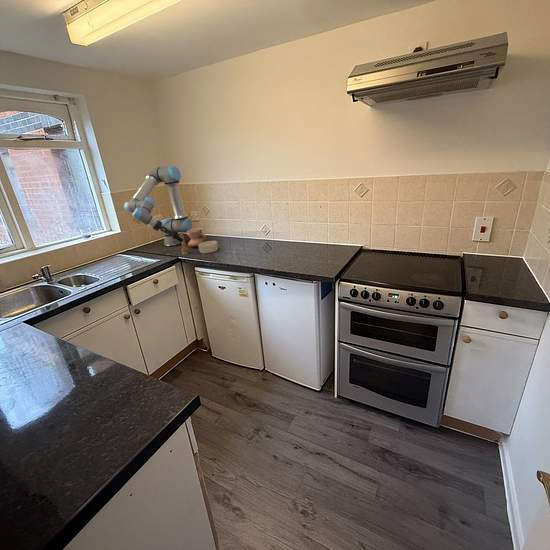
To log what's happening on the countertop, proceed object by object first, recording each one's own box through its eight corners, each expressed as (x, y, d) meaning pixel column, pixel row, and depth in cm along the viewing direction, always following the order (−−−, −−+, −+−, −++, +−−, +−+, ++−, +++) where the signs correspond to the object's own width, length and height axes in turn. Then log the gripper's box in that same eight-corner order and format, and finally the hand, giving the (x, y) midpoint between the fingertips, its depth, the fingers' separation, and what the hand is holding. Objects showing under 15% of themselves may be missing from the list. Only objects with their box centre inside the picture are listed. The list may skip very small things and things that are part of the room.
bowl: (203, 248, 240) (202, 241, 238) (221, 247, 237) (219, 240, 235) (196, 254, 226) (195, 246, 224) (214, 253, 224) (213, 245, 222)
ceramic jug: (184, 248, 246) (180, 232, 241) (195, 243, 258) (192, 227, 253) (201, 249, 238) (198, 232, 233) (212, 244, 250) (209, 227, 245)
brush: (184, 252, 236) (179, 232, 230) (190, 252, 235) (185, 232, 229) (180, 254, 231) (176, 234, 225) (187, 254, 230) (182, 234, 224)
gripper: (149, 225, 226) (173, 240, 238) (155, 230, 205) (181, 246, 217) (154, 217, 226) (178, 232, 238) (161, 221, 206) (187, 237, 218)
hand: (180, 239), depth 228 cm, fingers open, 13 cm apart
